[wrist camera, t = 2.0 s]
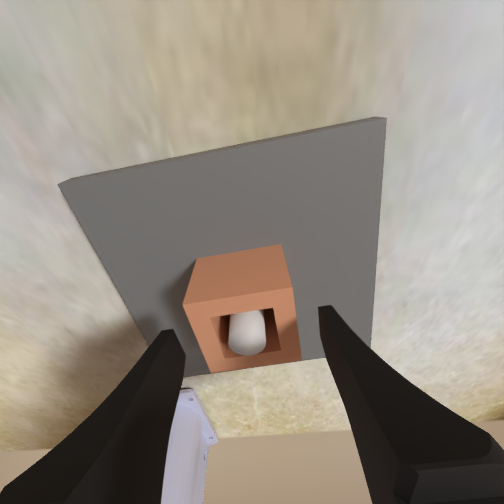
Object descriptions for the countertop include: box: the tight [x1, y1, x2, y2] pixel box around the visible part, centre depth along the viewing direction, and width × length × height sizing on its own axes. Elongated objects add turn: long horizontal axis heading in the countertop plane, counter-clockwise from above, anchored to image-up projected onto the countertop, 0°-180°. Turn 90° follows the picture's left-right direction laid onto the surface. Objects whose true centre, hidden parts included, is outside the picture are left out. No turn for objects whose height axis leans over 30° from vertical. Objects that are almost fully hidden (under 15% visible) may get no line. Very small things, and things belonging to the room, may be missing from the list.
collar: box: [182, 244, 302, 373], centre depth 14 cm, size 5×5×4 cm
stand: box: [58, 117, 387, 377], centre depth 15 cm, size 16×16×6 cm
